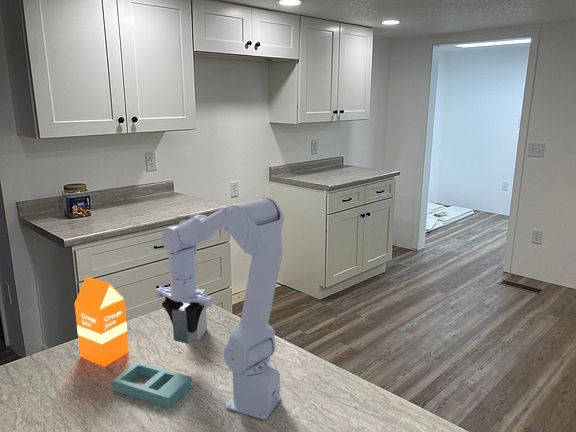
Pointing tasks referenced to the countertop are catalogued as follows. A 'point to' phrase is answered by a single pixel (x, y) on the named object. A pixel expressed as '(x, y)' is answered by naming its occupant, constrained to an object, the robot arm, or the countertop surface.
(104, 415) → the countertop surface
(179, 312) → the peg
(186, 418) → the countertop surface
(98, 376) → the countertop surface
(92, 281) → the orange juice
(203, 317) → the skincare box
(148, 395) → the holder
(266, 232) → the robot arm
